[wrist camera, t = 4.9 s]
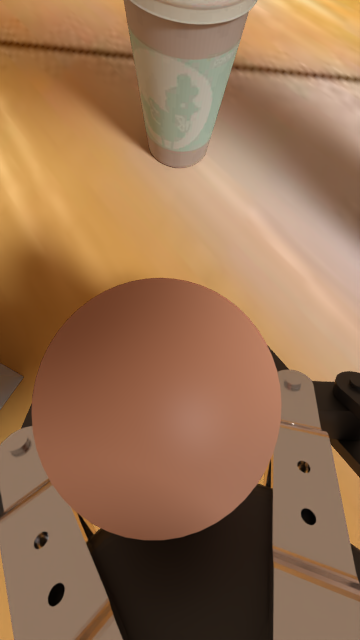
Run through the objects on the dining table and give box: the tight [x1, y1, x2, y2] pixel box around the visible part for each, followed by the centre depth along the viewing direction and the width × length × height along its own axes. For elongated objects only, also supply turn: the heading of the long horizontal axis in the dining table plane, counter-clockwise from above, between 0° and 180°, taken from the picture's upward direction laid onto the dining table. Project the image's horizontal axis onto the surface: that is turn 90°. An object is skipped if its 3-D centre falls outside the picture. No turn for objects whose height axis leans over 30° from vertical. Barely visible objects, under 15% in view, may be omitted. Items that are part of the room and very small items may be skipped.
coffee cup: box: [124, 0, 257, 168], centre depth 18 cm, size 8×9×12 cm
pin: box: [31, 278, 282, 540], centre depth 11 cm, size 4×4×14 cm
